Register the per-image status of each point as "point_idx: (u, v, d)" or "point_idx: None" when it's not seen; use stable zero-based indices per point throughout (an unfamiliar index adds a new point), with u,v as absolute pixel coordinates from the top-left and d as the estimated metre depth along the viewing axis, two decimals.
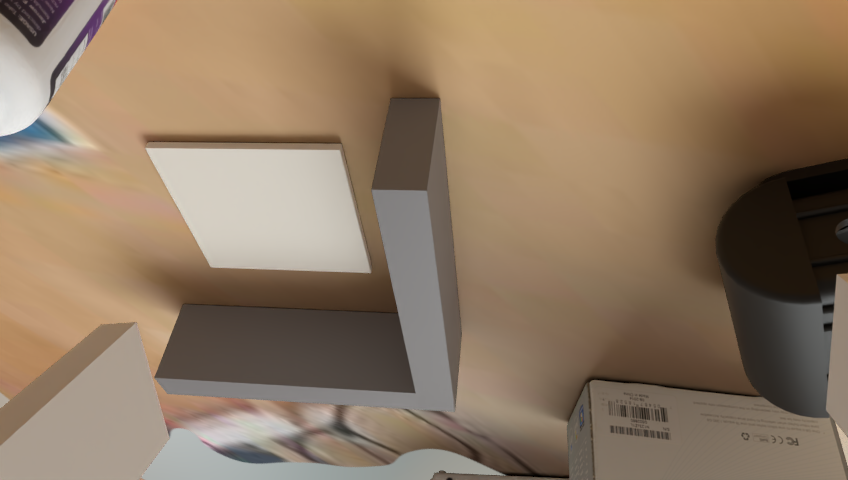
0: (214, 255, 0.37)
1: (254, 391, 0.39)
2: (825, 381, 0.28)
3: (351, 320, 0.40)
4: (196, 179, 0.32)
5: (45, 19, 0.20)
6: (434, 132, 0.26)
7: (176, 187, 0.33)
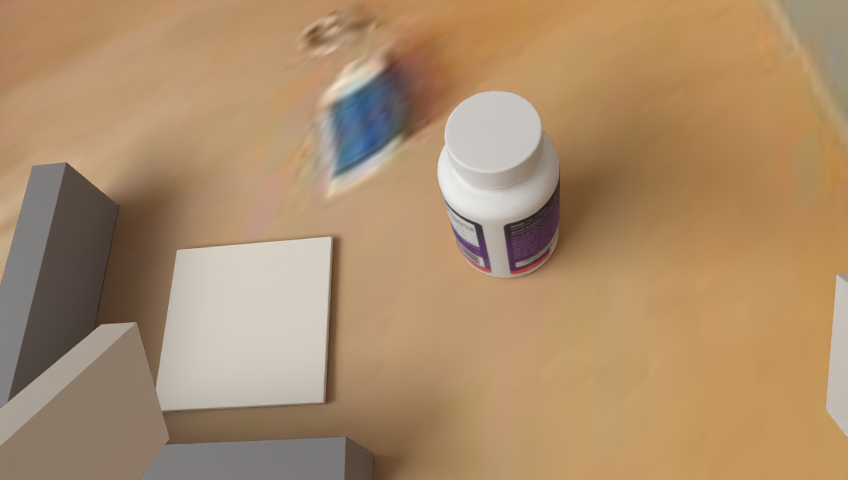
0: (194, 258, 0.38)
1: (24, 259, 0.35)
2: None
3: None
4: (294, 268, 0.37)
5: (512, 233, 0.30)
6: None
7: (285, 248, 0.38)
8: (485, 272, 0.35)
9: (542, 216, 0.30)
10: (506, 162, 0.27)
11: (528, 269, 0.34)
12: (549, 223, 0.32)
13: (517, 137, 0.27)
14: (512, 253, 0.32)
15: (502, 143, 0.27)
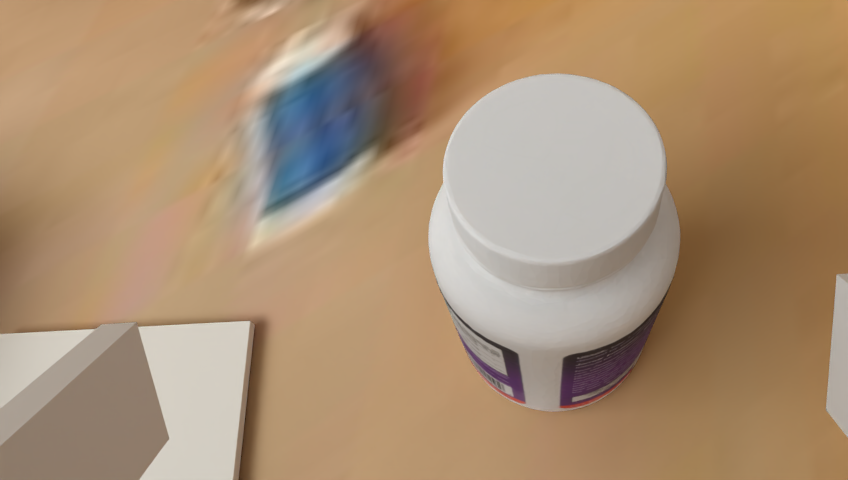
0: (25, 350, 0.23)
1: None
2: None
3: None
4: (184, 376, 0.22)
5: (579, 366, 0.15)
6: None
7: (173, 339, 0.22)
8: (514, 401, 0.20)
9: (639, 332, 0.15)
10: (586, 242, 0.12)
11: (592, 401, 0.19)
12: (645, 336, 0.16)
13: (608, 180, 0.12)
14: (570, 388, 0.17)
15: (574, 194, 0.12)
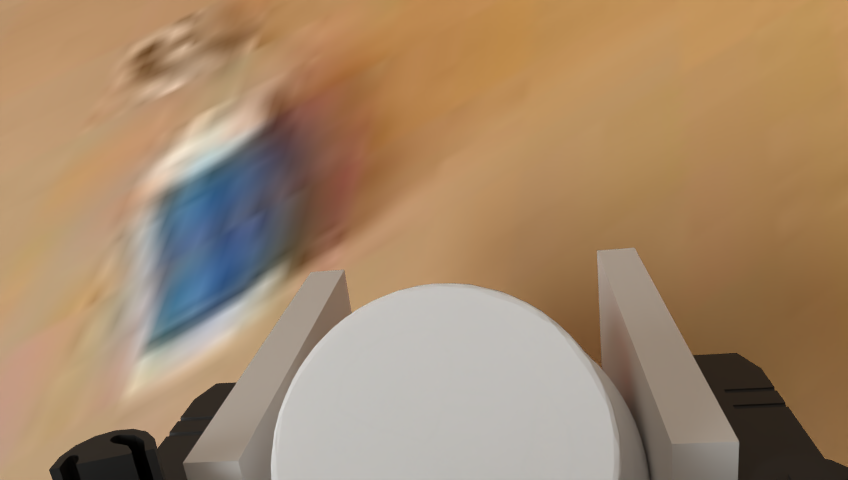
0: None
1: None
2: None
3: None
4: None
5: None
6: None
7: None
8: None
9: None
10: None
11: None
12: None
13: None
14: None
15: None
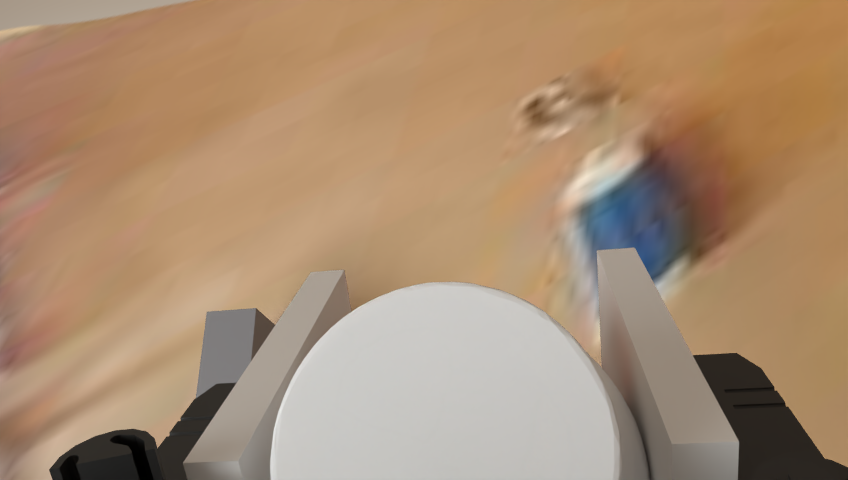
0: None
1: None
2: None
3: None
4: None
5: None
6: None
7: None
8: None
9: None
10: None
11: None
12: None
13: None
14: None
15: None
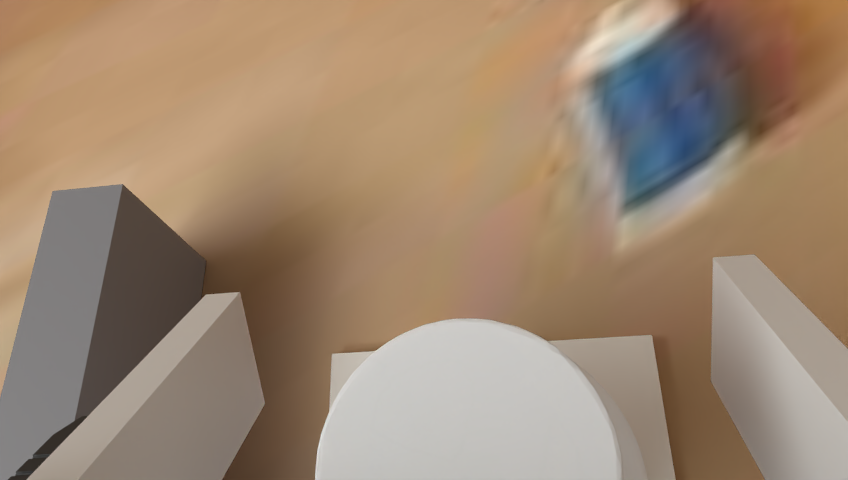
0: None
1: (39, 401, 0.16)
2: None
3: None
4: None
5: None
6: None
7: None
8: None
9: None
10: None
11: None
12: None
13: None
14: None
15: None
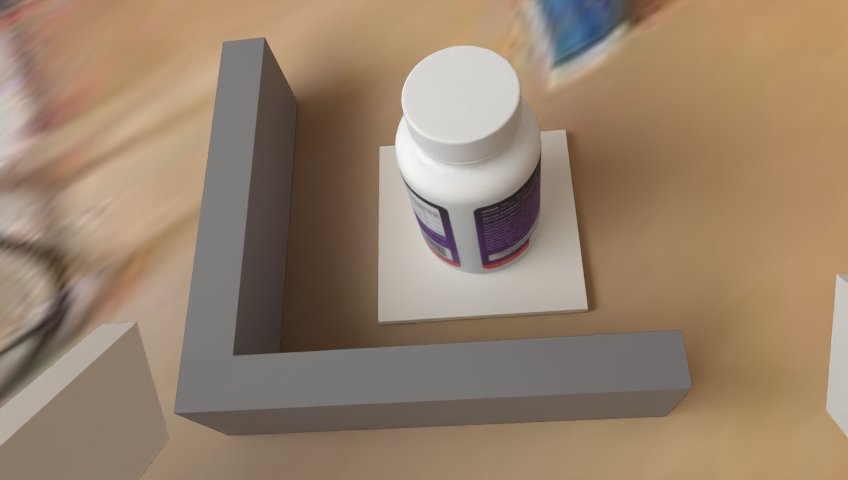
0: None
1: (231, 142, 0.29)
2: None
3: (279, 288, 0.31)
4: None
5: (484, 220, 0.25)
6: (674, 405, 0.25)
7: None
8: (454, 266, 0.30)
9: (519, 199, 0.25)
10: (476, 131, 0.22)
11: (503, 263, 0.29)
12: (528, 208, 0.27)
13: (490, 100, 0.22)
14: (484, 244, 0.27)
15: (471, 108, 0.22)
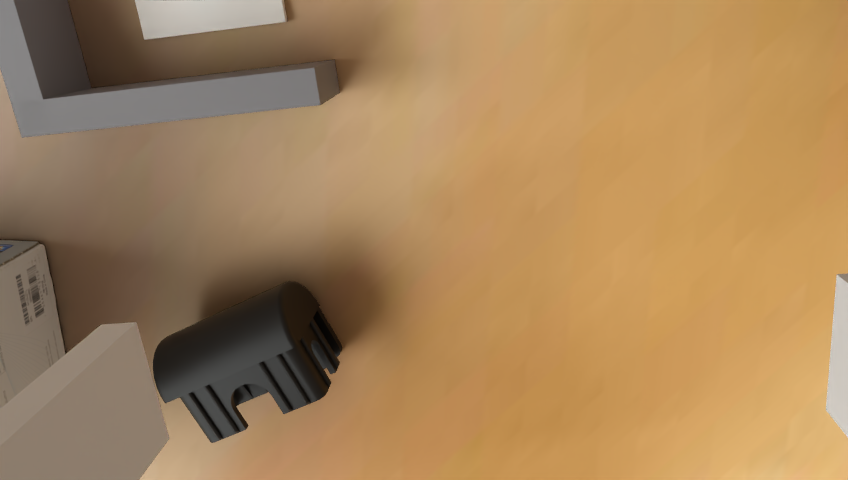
0: None
1: None
2: (211, 382, 0.43)
3: (66, 18, 0.42)
4: None
5: None
6: (332, 96, 0.41)
7: None
8: None
9: None
10: None
11: None
12: None
13: None
14: None
15: None
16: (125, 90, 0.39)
